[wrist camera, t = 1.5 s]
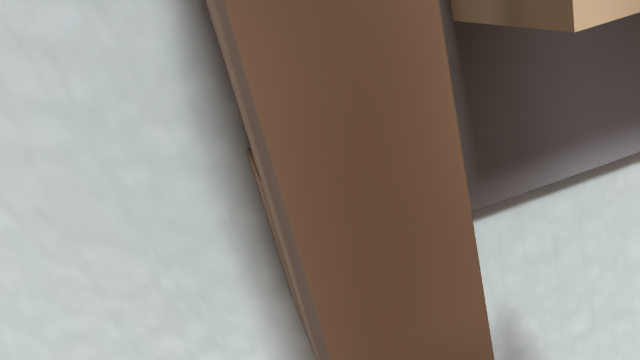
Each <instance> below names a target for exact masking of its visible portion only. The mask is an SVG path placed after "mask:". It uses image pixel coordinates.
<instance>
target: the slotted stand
mask: <svg viewBox="0 0 640 360" xmlns="http://www.w3.org/2000/svg"><path fill="white" fill-rule="evenodd" d="M438 1H439V7H440V13H441V20H442V26H443V33H444V39H445V46H446V52H447V59H448V65H449V72H450V78H451V84H452V91H453V97H454V104H455V110H456V117H457V123H458V130H459V136H460V142H461V149H462V155H463V162H464V168H465V175H466V181H467V188H468V194H469V201H470V207H471V212H473V211H475V210H478V209H481V208H484V207H487V206H489V205H492V204H495V203H498V202H501V201H504V200H506V199H509V198H512V197H515V196H518V195H520V194H523V193H526V192H529V191H532V190H534V189H537V188H540V187H543V186H546V185H549V184H551V183H554V182H557V181H560V180H563V179H565V178H568V177H571V176H574V175H577V174H580V173H582V172H585V171H588V170H591V169H594V168H596V167H599V166H602V165H605V164H608V163H611V162H613V161H616V160H619V159H622V158H625V157H627V156H630V155H633V154H636V153H639V152H640V0H438Z"/></svg>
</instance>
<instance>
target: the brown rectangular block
mask: <svg viewBox="0 0 640 360" xmlns="http://www.w3.org/2000/svg"><path fill="white" fill-rule="evenodd" d="M206 3H207V6H208V10H209V13H210V16H211V19H212V23H213V26H214V29H215V32H216V36H217V39H218V42H219V45H220V49H221V52H222V55H223V58H224V61H225V65H226V68H227V71H228V74H229V78H230V81H231V84H232V87H233V91H234V94H235V97H236V100H237V104H238V107H239V110H240V113H241V117H242V120H243V123H244V126H245V129H246V133H247V136H248V139H249V142H250V146H251V149H248V150H246V151H247V154H248V157H249V160H250V164H251V167H252V170H253V173H254V176H255V179H256V183H257V186H258V189H259V192H260V195H261V199H262V202H263V205H264V208H265V211H266V215H267V218H268V221H269V224H270V227H271V231H272V234H273V237H274V240H275V243H276V247H277V250H278V253H279V256H280V259H281V263H282V266H283V269H284V272H285V275H286V279H287V282H288V285H289V288H290V291H291V294H292V298H293V300H294V303H295V305H296V308H297V310H298V313H299V315H300V318H301V320H302V323H303V326H304V328H305V331H306V333H307V336H308V338H309V341H310V343H311V346H312V348H313V351H314V353H315V356H316V358H317V360H494V355H493V349H492V342H491V336H490V330H489V323H488V317H487V310H486V304H485V297H484V291H483V284H482V278H481V271H480V265H479V259H478V252H477V246H476V239H475V233H474V226H473V220H472V213H471V207H470V201H469V194H468V188H467V181H466V175H465V168H464V162H463V155H462V149H461V142H460V136H459V130H458V123H457V117H456V110H455V104H454V97H453V91H452V84H451V78H450V72H449V65H448V59H447V52H446V46H445V39H444V33H443V26H442V20H441V13H440V7H439V1H438V0H206Z"/></svg>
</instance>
